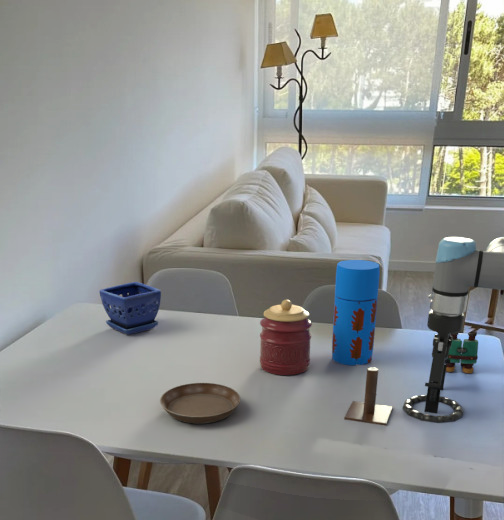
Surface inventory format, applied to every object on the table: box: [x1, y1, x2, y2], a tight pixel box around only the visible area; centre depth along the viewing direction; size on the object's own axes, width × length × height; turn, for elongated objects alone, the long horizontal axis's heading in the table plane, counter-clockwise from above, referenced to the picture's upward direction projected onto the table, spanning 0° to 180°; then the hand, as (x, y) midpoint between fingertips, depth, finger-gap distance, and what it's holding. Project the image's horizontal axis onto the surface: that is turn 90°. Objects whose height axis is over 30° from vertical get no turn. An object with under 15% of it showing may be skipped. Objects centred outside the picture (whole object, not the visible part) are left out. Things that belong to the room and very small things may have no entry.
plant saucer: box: [159, 382, 241, 425], centre depth 157 cm, size 18×18×3 cm
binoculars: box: [444, 330, 479, 374], centre depth 180 cm, size 9×11×10 cm
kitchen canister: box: [259, 299, 313, 376], centre depth 178 cm, size 13×13×18 cm
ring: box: [402, 394, 465, 424], centre depth 156 cm, size 13×13×2 cm
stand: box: [343, 366, 394, 426], centre depth 152 cm, size 9×9×12 cm
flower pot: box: [99, 281, 162, 336], centre depth 206 cm, size 13×13×12 cm
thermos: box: [331, 259, 381, 366], centre depth 182 cm, size 11×11×25 cm
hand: (433, 401), depth 161 cm, fingers open, 13 cm apart
